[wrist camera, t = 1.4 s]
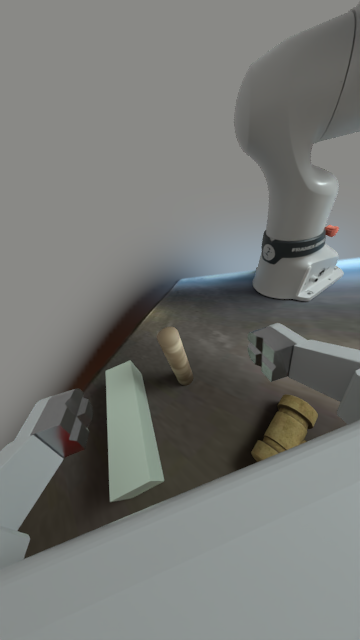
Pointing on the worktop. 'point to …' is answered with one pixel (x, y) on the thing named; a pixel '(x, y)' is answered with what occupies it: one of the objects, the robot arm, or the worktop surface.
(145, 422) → the pale mint rectangular block
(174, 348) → the dowel
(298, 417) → the gavel
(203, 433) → the worktop surface
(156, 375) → the worktop surface
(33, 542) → the worktop surface
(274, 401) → the worktop surface
